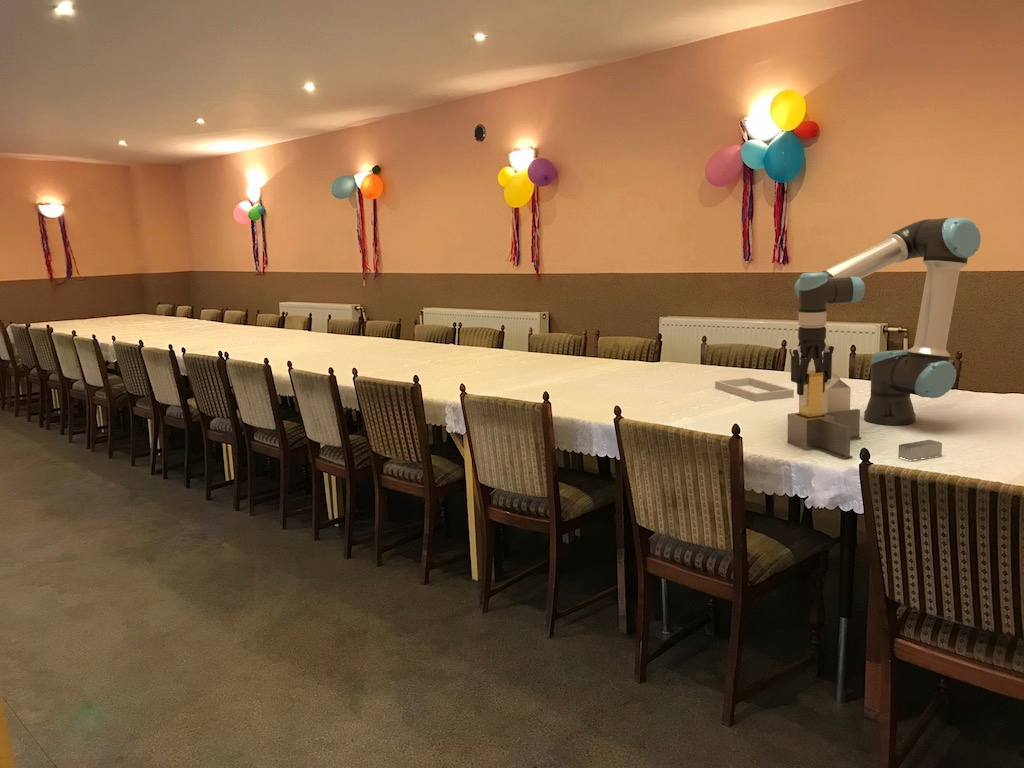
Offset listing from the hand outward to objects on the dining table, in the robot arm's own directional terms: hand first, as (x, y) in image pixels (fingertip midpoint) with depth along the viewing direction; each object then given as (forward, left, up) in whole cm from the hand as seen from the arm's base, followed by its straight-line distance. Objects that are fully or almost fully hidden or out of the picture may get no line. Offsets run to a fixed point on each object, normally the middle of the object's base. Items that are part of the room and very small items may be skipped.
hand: (810, 404), depth 221 cm
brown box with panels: (-6, +6, -12) cm, 15 cm away
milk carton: (-14, -8, -13) cm, 20 cm away
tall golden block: (0, 0, -4) cm, 4 cm away
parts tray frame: (-27, -74, -12) cm, 80 cm away
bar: (-18, +23, -13) cm, 32 cm away
